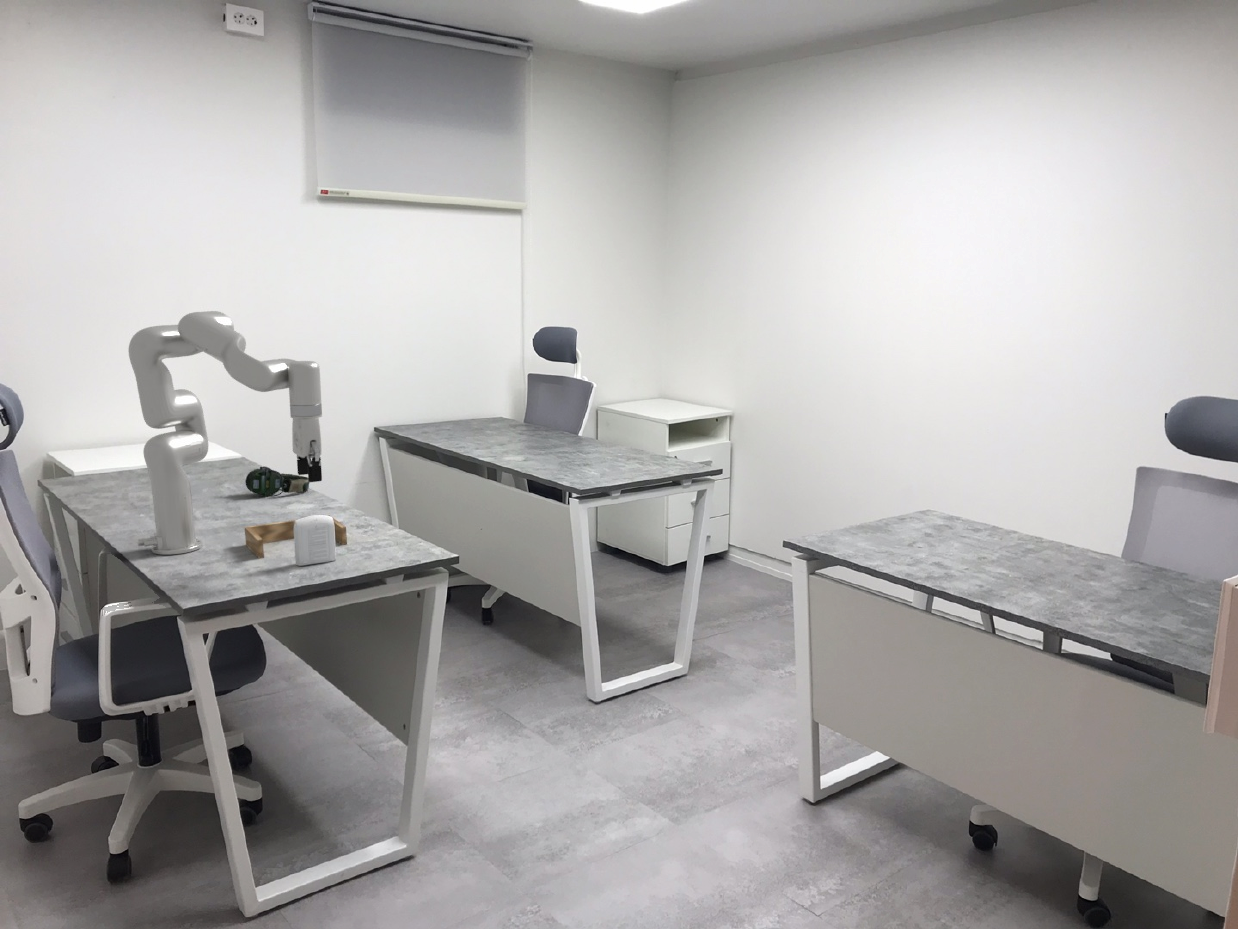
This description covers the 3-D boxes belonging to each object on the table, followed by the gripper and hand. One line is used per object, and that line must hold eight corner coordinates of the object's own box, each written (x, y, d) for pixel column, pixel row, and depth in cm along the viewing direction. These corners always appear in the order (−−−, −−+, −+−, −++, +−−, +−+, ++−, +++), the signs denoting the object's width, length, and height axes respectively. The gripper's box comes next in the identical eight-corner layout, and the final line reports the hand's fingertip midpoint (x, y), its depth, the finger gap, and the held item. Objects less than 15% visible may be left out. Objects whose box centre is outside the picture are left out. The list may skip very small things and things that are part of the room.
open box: (259, 558, 251) (257, 540, 250) (246, 544, 264) (244, 527, 263) (347, 544, 263) (346, 526, 262) (330, 532, 276) (329, 515, 275)
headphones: (259, 486, 311) (318, 486, 324) (251, 453, 317) (309, 455, 330) (247, 509, 319) (305, 509, 332) (238, 477, 325) (296, 478, 338)
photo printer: (333, 557, 252) (330, 511, 249) (338, 561, 248) (335, 514, 246) (293, 563, 246) (290, 517, 244) (298, 567, 243) (294, 520, 240)
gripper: (281, 407, 244) (285, 473, 248) (300, 416, 230) (304, 486, 234) (311, 405, 248) (314, 470, 252) (331, 414, 234) (334, 482, 238)
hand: (309, 477), depth 243 cm, fingers open, 9 cm apart
